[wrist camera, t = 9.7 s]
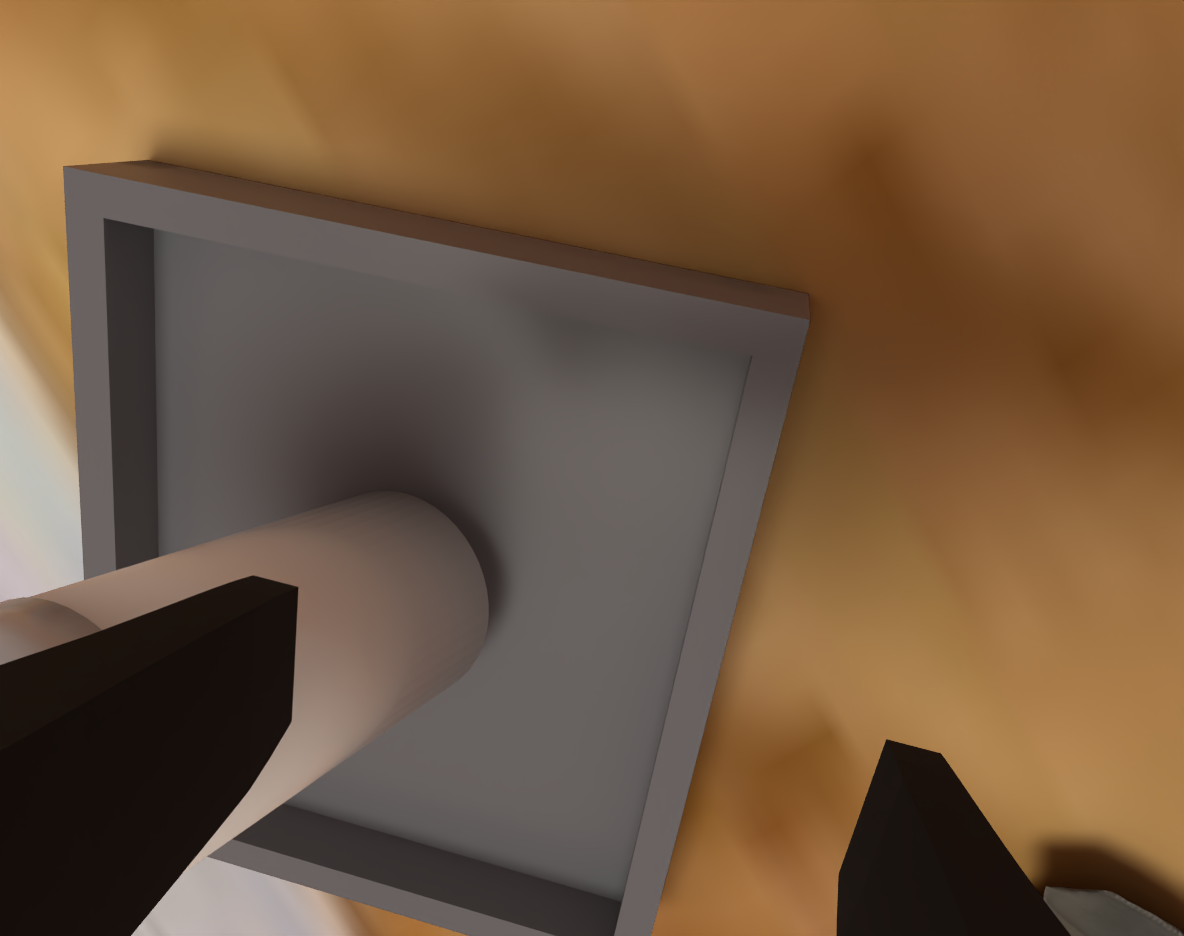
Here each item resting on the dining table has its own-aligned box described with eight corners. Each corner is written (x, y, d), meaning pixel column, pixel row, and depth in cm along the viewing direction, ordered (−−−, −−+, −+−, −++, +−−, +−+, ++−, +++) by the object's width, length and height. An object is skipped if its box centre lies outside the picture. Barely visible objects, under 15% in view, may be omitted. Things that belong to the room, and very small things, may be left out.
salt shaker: (509, 528, 19) (118, 711, 11) (470, 729, 20) (92, 1032, 12) (324, 461, 21) (-138, 574, 12) (299, 651, 22) (-136, 869, 14)
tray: (808, 293, 18) (809, 320, 16) (652, 903, 24) (637, 986, 22) (148, 159, 20) (63, 166, 17) (158, 759, 26) (96, 823, 24)
